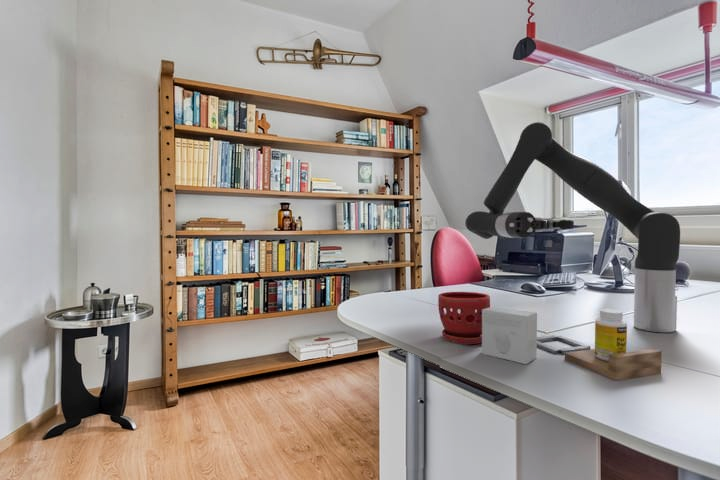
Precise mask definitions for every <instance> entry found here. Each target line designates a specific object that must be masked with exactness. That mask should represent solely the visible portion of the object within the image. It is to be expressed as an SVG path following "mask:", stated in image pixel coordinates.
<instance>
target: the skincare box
mask: <svg viewBox="0 0 720 480" xmlns="http://www.w3.org/2000/svg"><path fill="white" fill-rule="evenodd" d="M537 337H538V312H536V311H535V312H534V311H528V310H521V309H516V308H515V309H514V308H508V307H500V306H495V305H494V306H490V307H489V308H486V309H482V342H481V354H482V355H485V356H490V357H494V358H498V359H499V358H500V359H502V360H508V361H511V362H515V363H518V364H519V363H520V364H523V365H527V364H529V363H531V362H532V361H534V360H535V359H537V356H538V355H537V352H538V349H537Z"/></svg>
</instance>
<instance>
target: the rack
mask: <svg viewBox="0 0 720 480" xmlns="http://www.w3.org/2000/svg"><path fill="white" fill-rule="evenodd" d="M564 361H568V362H571V363H573V364H575V365H577V366H580V367H582V368H584V369H586V370H589V371H591V372H594V373H596V374H599V375H601V376H604V377H605V378H608V379H611V380H613V381H620V380H621V381H622V380H627V379H633V378H641V377H646V376H652V375H653V376H654V375H660V374H662V350H659V349H655V348H649V349H642V350H635V351H628V352H627V351H626V353H619V354H612V355H609V361H604V360H601V359H599V358H597V357H596V356H595V348H590V350H582V351H575V352H567V353H565V354H564Z"/></svg>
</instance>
